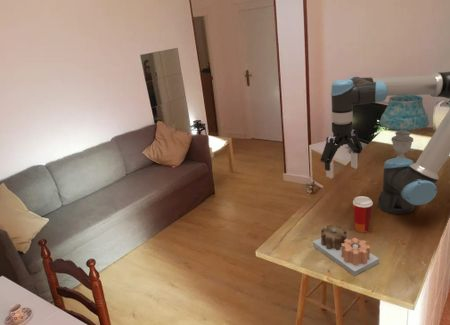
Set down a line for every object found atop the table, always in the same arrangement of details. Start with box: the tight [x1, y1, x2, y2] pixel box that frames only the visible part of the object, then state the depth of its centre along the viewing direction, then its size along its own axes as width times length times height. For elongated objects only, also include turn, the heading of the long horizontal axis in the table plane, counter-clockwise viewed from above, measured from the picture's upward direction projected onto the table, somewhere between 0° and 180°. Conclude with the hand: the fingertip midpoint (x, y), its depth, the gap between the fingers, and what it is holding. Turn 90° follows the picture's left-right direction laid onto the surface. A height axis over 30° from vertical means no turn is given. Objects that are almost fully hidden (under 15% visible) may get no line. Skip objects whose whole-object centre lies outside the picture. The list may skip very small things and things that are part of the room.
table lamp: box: [379, 95, 430, 159], centre depth 190 cm, size 24×24×40 cm
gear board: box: [312, 237, 380, 277], centre depth 131 cm, size 12×22×7 cm, turn 27°
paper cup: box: [352, 195, 374, 233], centre depth 143 cm, size 8×8×14 cm
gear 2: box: [341, 237, 371, 266], centre depth 126 cm, size 10×10×5 cm
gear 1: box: [320, 225, 348, 250], centre depth 135 cm, size 10×10×6 cm
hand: (341, 172), depth 138 cm, fingers open, 13 cm apart
